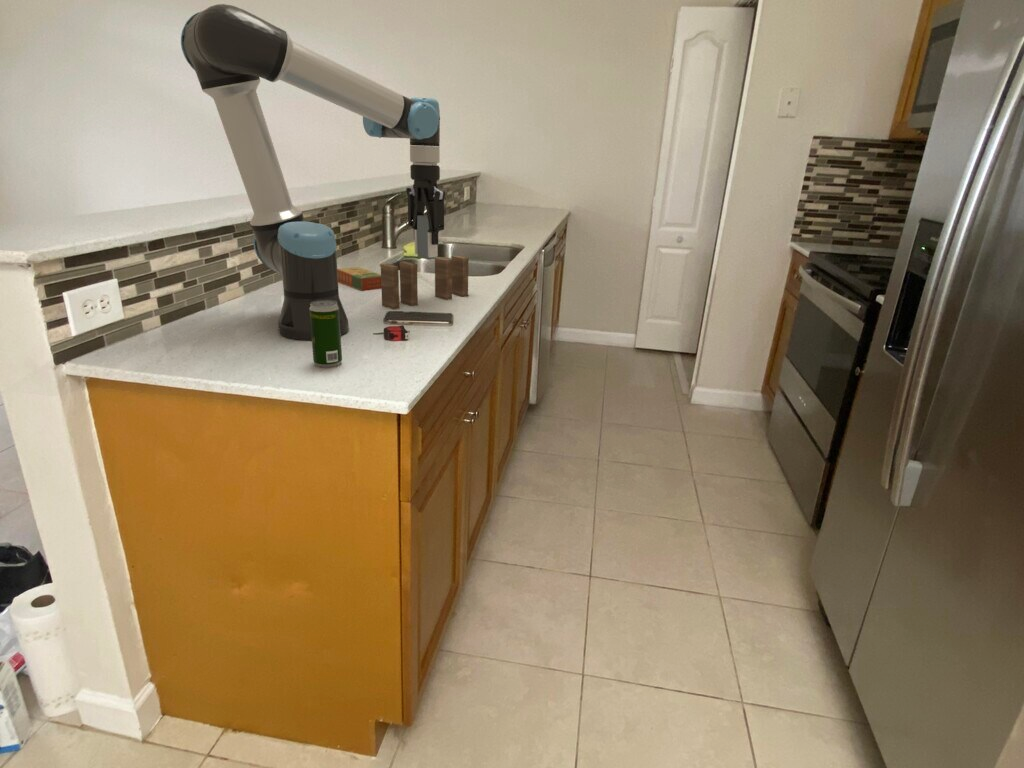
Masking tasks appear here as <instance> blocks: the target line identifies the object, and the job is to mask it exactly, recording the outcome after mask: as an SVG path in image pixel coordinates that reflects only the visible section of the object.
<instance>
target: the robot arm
mask: <svg viewBox="0 0 1024 768" xmlns="http://www.w3.org/2000/svg"><path fill="white" fill-rule="evenodd" d="M180 46H181V50H182V54H183V56H184V58H185V60H186V62H187V64H189V65H190V67H191V69H193V71H194V72H195V74H196V78H197V79H198V83H199V85H200V87H201V90H202V92H203V93H205V94H206V95H207V96H209V97H211V98H212V99H213V102H214V104H215V106H216V110H217V113H218V116H219V119H220V121H221V123H222V127H223V130H224V132H225V135H226V137H227V140H228V144H229V146H230V149H231V152H232V154H233V157H234V160H235V164H236V166H237V170H238V172H239V175H240V177H241V180H242V183H243V186H244V189H245V192H246V194H247V197H248V200H249V203H250V205H251V209H252V211H253V215H252V217H251V219H250V222H249V224H250V227H251V229H252V233H253V235H254V236H253V249H254V252H255V254H256V256H257V258H258V260H260V262H261V263H262V264H263V265H264V266H265V267H266V268H267V269H269V270H270V271H273V272H274V273H278V274H280V275H281V278H282V279H281V280H282V287H283V288H282V289H283V303H282V307H281V309H280V314H279V318H278V323H277V325H278V333H279V334H280V336H282V337H285V338H287V339H292V340H304V341H312V337H311V324H310V311H309V308H310V303H311V302H313V301H319V300H331V301H336V302H337V305H338V307H339V317H340V333H341V336H342V335H344V334H346V333H348V332H349V330H350V329H349V328H350V326H349V324H350V323H349V319H348V316H347V314H346V311H345V309H344V305H343V303H342V301H341V298H340V293H339V282H338V273H337V269H338V261H337V260H338V258H337V255H338V254H337V242H336V236H335V231H334V230H333V229H332V228H331V227H330V226H328V225H325V224H322V223H316V222H311V221H305V220H306V219H305V218H304V215H303V212H302V210H301V209H300V208H298V207H296V206H295V205H294V204H293V202H292V200H291V196H290V193H289V190H288V186H287V183H286V181H285V177H284V174H283V170H282V168H281V165H280V162H279V159H278V156H277V152H276V150H275V147H274V143H273V141H272V138H271V137H272V136H271V134H270V131H269V128H268V125H267V121H266V118H265V115H264V112H263V108H262V106H261V103H260V100H259V96H258V93H257V89H258V87H259V85H260V83H261V78H262V79H264V80H267V81H268V82H271V83H275V82H278V81H281V82H284V83H286V84H289V85H291V86H293V87H295V88H297V89H299V90H302V91H304V92H307V93H310V94H312V95H314V96H316V97H319V98H320V99H322V100H325V101H327V102H329V103H332V104H333V105H336V106H338V107H341V108H344V109H345V110H347V111H350V112H352V113H355V114H357V115H359V116H361V117H362V125H363V128H364V131H365V133H366V134H367V135H368V136H369V137H373V138H379V139H380V138H387V139H388V138H389V139H409V161H410V163H412V164H411V165H410V168H409V169H410V179H411V180H412V181H413V184H412V187H406V190H405V191H406V196H407V224H408V227H411V228H412V229H413V241H414V255H418V245H417V215H425V211H426V216H428V222H429V229H430V230H428V257H435V258H438V250H439V249H438V245H439V232H441V231H445V198H446V191H445V190H440V189H439V187H438V182H439V180H440V178H441V167H440V166H439V165H438V164H439V163H440V162H441V159H440V155H441V154H440V142H441V141H440V140H441V139H440V138H441V136H440V135H441V134H440V132H441V131H440V128H441V127H440V126H441V123H440V122H441V121H440V120H441V113H440V104H439V101H438V100H437V99H436V98H431V97H430V98H429V97H411V98H409V97H407V96H405V95H402V94H401V93H398V92H396V91H394V90H392V89H390V88H388V87H386V86H384V85H382V84H380V83H378V82H376V81H375V80H372V79H370V78H368V77H366V76H365V75H363V74H360V73H358V72H356V71H355V70H352V69H350V68H348V67H346V66H343V65H342V64H340V63H338V62H336V61H334V60H332V59H329V58H328V57H326V56H324V55H322V54H319V53H318V52H317V51H314V50H311V49H310V48H307V47H305V46H303V45H302V44H299V43H298V42H296V41H293V40H292V39H291V37H290V35H289V33H288V32H287V31H286V30H284V29H283V28H281V27H278V26H276V25H274V24H272V23H270V22H269V21H266V20H264V19H263V18H261V17H259V16H257V15H255V14H253V13H251V12H249V11H247V10H245V9H243V8H241V7H237V6H236V5H231V4H226V3H225V4H224V3H220V4H215V5H211V6H209V7H207V8H206V9H204V10H202V11H199V12H196V13H195V14H193V15H191V16H190V17H189V18H188V19H187V21H186V22H185V24H184V26H183V27H182V30H181V35H180ZM425 209H426V210H425Z"/></svg>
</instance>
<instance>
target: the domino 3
mask: <svg viewBox="0 0 1024 768" xmlns="http://www.w3.org/2000/svg"><path fill="white" fill-rule="evenodd" d="M428 230H430V229H429V222H428V216H427V214H426V215H425V214H424V215H417V245H418V254H417V258H420V259H425V260H429V261H430V260H435V258H436V257H428Z"/></svg>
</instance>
